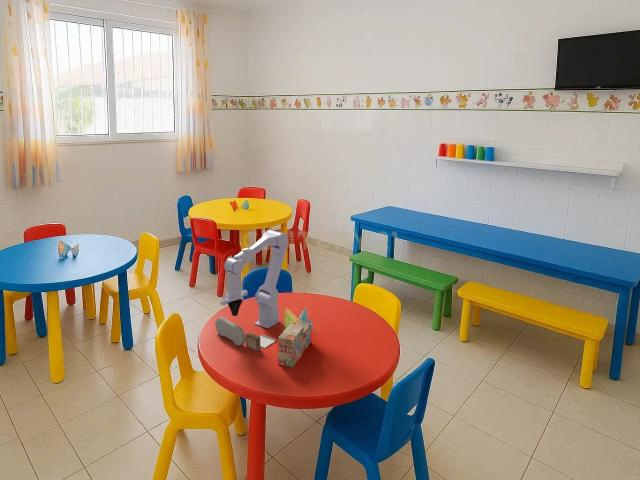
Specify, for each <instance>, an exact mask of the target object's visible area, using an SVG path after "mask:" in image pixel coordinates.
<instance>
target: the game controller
mask: <svg viewBox="0 0 640 480" xmlns="http://www.w3.org/2000/svg"><path fill="white" fill-rule="evenodd" d="M214 326H215V329H216V330H215V331H216V332H217V334H218V335H219V336H220V337H226V338H227V339H229V340H231V341H232V342H233V344H235V346H238V347H240V346H242V345H244V344H246V333H245V331H244V329H243V328H242V327H241V326H239V325H238V324H236V323H234V322H232V321H231V320H228V319H227V318H225V317H224V316H221V317H219V318H216V320H215V325H214Z"/></svg>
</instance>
